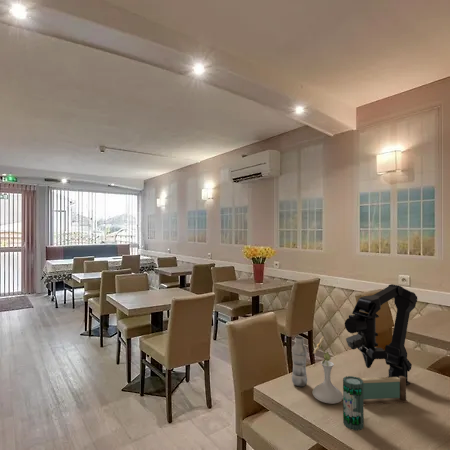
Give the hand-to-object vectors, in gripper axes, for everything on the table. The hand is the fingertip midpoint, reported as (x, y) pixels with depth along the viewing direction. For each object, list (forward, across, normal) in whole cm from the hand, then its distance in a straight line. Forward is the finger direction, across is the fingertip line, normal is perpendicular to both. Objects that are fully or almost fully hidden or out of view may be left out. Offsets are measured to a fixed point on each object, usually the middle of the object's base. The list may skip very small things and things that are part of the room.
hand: (368, 367), depth 129 cm
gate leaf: (+8, +7, +1) cm, 11 cm away
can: (+10, +20, -16) cm, 28 cm away
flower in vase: (+10, +4, -19) cm, 22 cm away
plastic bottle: (+10, -8, -26) cm, 29 cm away
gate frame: (+10, +7, +1) cm, 12 cm away
